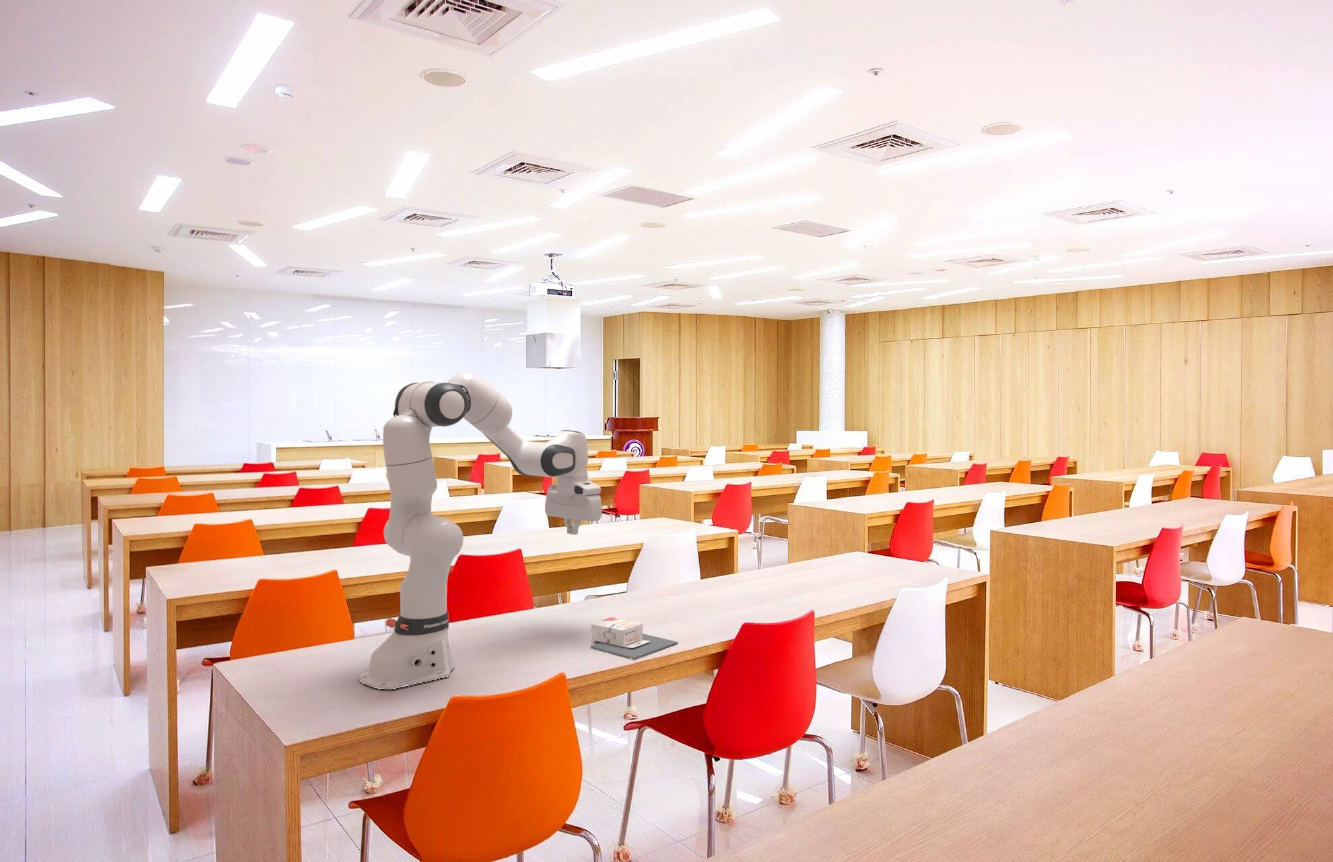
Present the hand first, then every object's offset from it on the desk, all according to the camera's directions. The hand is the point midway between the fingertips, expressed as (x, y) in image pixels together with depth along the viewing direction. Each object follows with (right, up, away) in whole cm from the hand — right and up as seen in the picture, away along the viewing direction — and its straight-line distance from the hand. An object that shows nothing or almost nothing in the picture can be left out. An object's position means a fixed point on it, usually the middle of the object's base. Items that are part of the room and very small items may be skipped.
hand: (572, 534), depth 235 cm
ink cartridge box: (+9, -26, -6) cm, 28 cm away
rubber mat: (+18, -29, -13) cm, 37 cm away
